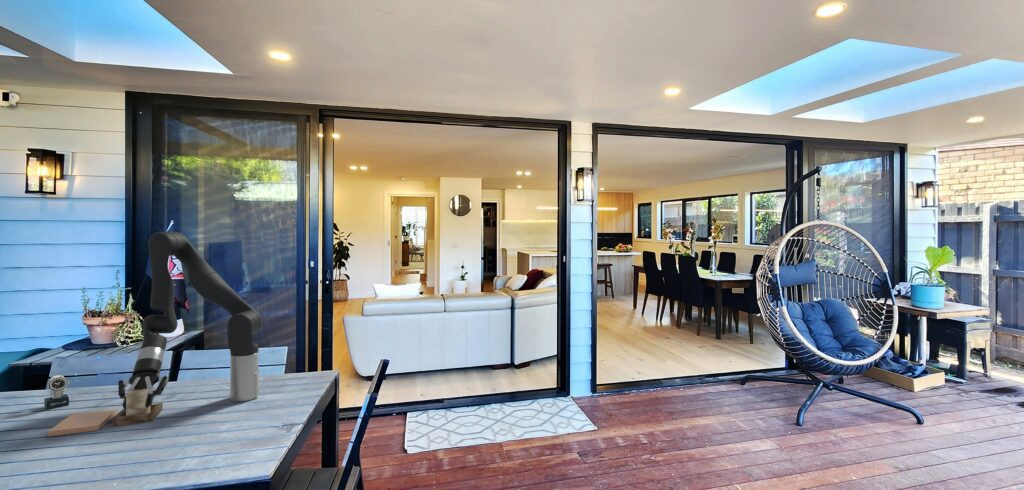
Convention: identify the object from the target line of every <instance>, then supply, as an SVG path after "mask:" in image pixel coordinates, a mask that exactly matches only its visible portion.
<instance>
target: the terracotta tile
mask: <svg viewBox="0 0 1024 490" xmlns="http://www.w3.org/2000/svg"><path fill="white" fill-rule="evenodd" d="M117 414H118V408H113V409H105V410H95V411H86V412H80V413H79V412H78V413H71V414H70V415H68V416H67V417H66V418H65V419H63V420H62V421H60V422H59V423H57V424H56V425H55V426H53V427H52V428H51V429H50V430H48V431H47V437H53V436H54V437H55V436H61V435H62V436H63V435H69V434H78V433H85V432H93V431H94V432H95V431H100V430H101V428H102V427H104V426H105V425H106V424H107V423H108V422H110V420H112V419H113V418H114V417H115V416H116V415H117Z"/></svg>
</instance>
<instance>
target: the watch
mask: <svg viewBox="0 0 1024 490" xmlns="http://www.w3.org/2000/svg"><path fill="white" fill-rule="evenodd" d="M69 384H70V381H68V379H67V378H66V377H64V376H63V375H62V374H59V375H58V374H57V375H53V376H50V380H49V382H48V385H47V387H48V389H49V393H50V395H51V397H46V398H44V399H43V400H44V403H43V405H44V409H45V410H46V411H50V410H54V409H55V410H56V409H58V408H64V407H68V406H69V405H70V396H69V395H68V394H66V393H65V394H64V392H65V391H66V389H67V387H68V385H69Z"/></svg>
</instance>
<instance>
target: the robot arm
mask: <svg viewBox="0 0 1024 490" xmlns="http://www.w3.org/2000/svg"><path fill="white" fill-rule="evenodd" d="M147 244H148V256H149V266H150V267H149V268H150V273H151V293H150V305H149V307H150V308H151V309H152V310H155V311H159V312H163V313H164V315H163V314H149V315H147V316H146V317H145V318H144V319H143V320H142V331H143V340H142V344H141V347H140V351H139V353H138V354H137V357H136V361H135V364H134V366H133V371H132V374H131V376H130V377H129V379H127V380H122V379H120V380H118V382H117V383H118V386H117V387H118V388H117V389H118V396H119V398H120V399H122V400H123V401H122V409H125V410H126V395H127V394H128V393H129V392H130V391H133V390H137V389H147V388H148V389H149V391H148V392H149V395H147V399H146V403H145V406H146V408H147V407H149V406H150V405H151V404H153V400H154V397H155V396H160V395H162V393H163V391H164V390H165V388H166V386H167V385H168V383H169V378H168V376H167V375H164V376H160V373H161V370H162V366H163V363H164V360H165V359H164V356H165V351H166V347H167V343H168V338H167V337H166V336H164V335H161V334H173V333H174V332H175V331H177V328H178V319H177V316H176V311H175V304H174V303H175V291H176V290H175V288H176V287H175V283H174V280H173V279H172V276H171V274H170V270H169V259H170V257H172V256H173V257H175V258H176V259H177V260H178V261H179V262H180V263H181V265H182V266H183V267H185V271H186V273H187V279H188V282H189V283H190V284H189V285H190V286H191V287H192V288H193V289H194V290H195V291H196V293H198V294H199V296H201V297H202V298H203V299H205V300H206V301H208V302H210V303H211V304H214V305H215V306H218V307H220V308H221V309H223V310H225V311H226V312H227V313H229V315H230V318H229V320H228V322H227V326H226V327H227V328H226V330H227V333H226V335H227V347H228V350H229V351H230V367H229V368H230V369H229V370H230V371H229V372H230V373H229V374H230V380H229V381H230V385H229V386H230V387H229V389H230V391H229V392H230V393H229V394H230V395H229V397H230V398H229V399H230V401H232V402H237V403H238V402H246V401H251V400H255V399H258V397H259V396H260V395H259V394H260V369H259V351H260V350H259V349H260V348H259V345H258V344H257V343H256V342H255V343H254V339H253V338H254V336H253V334H255V333H256V332H258V331H260V330H261V329H262V327H263V326H264V325H263V323H264V321H263V318H262V316H261V314H260V313H259V312H258V311H257V310H255V309H254V308H253V307H252V306H251V305H250V304H248V302H246V301H245V300H244V299H242V297H240V295H238V294H237V293H236V291H235V290H234V289H233V288H232V287H231V286H230V285H229V284H228V283H227V282H226V281H225V280H224V278H223V277H221V276H220V274H219V273H218V272H217V271H216V270H214V268H213V267H212V266H211V265H210V264H209V263H208V262H207V261H206V260H205V259H204V258H203V257H202V255H201V254H200V253H199V252H198V251H197V250H196V248H195V247H194V246H193V244H192V243H191V242H190V240H189V239H188V238H187V237H186V236H185V235H184V234H183V233H181V232H178V231H158V232H155V233H153V234H151V236H150V237H149V239H148V243H147ZM158 382H159V383H158ZM157 383H158V385H157V387H156V389H154V385H156V384H157ZM129 384H130V386H129V388H128V390H127V392H126V388H127V387H128V385H129Z"/></svg>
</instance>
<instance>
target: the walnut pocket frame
mask: <svg viewBox="0 0 1024 490" xmlns="http://www.w3.org/2000/svg"><path fill="white" fill-rule="evenodd" d="M162 411H163V402H156V403H152V404H151V405H150V413H145V414H137V415H129V416H126V410H125V409H124V408H122V409H121V410H120V411H119V412H117V414H116V415H115V416H114V417H113V418H111V420H112V421H111V422H112V423H111V426H112V427H117V426H124V425H127V426H128V425H132V424H142V423H149V422H153V421H155V419H156V418H157V417H158V415H159V414H160V413H161V412H162Z"/></svg>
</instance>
